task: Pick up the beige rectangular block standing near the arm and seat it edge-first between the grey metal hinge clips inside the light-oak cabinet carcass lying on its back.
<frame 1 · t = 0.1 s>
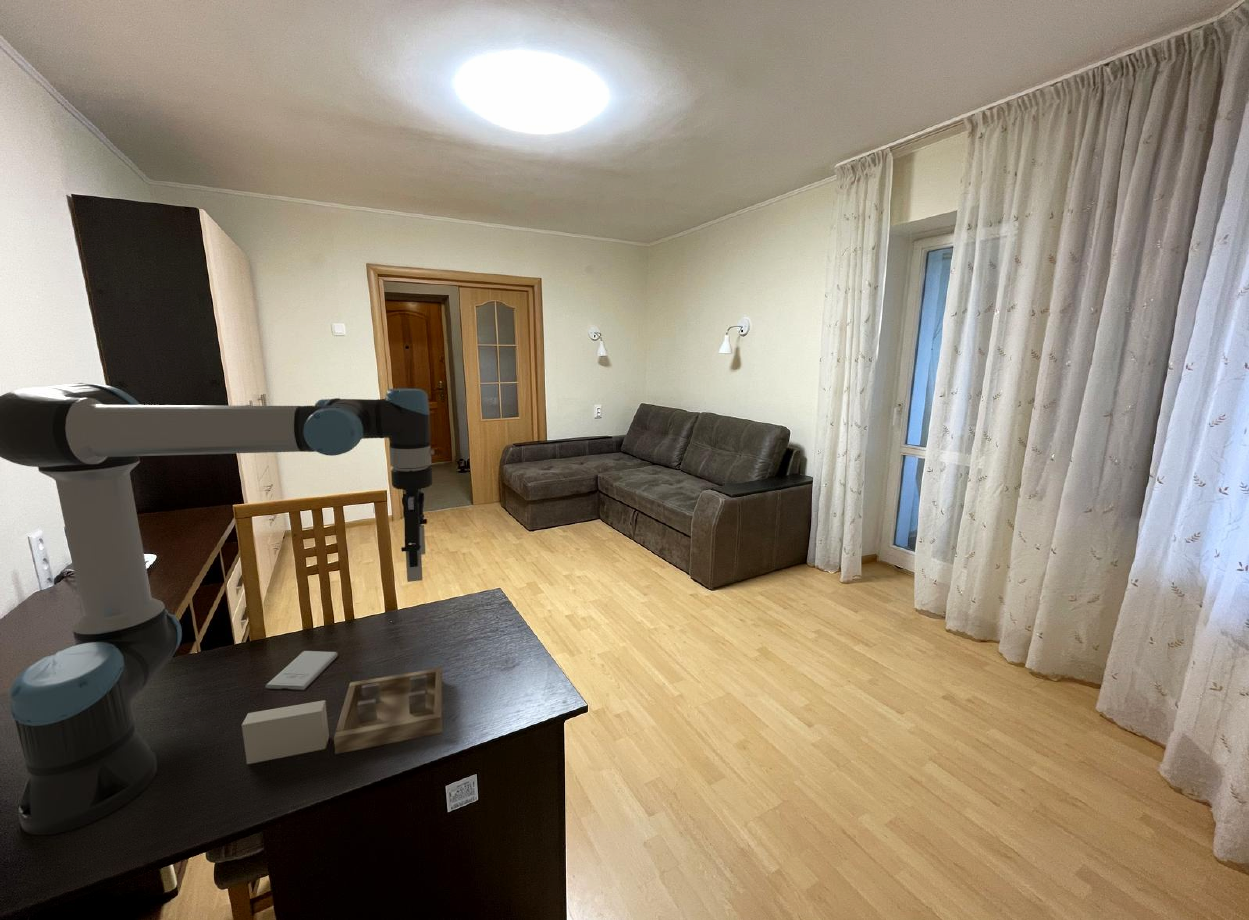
hand: (417, 566, 103), 28 cm above the table, fingers open, 13 cm apart
external hard drive: (304, 674, 112), on the table
beige rectangular block: (289, 750, 90), on the table
carcass: (394, 714, 100), on the table
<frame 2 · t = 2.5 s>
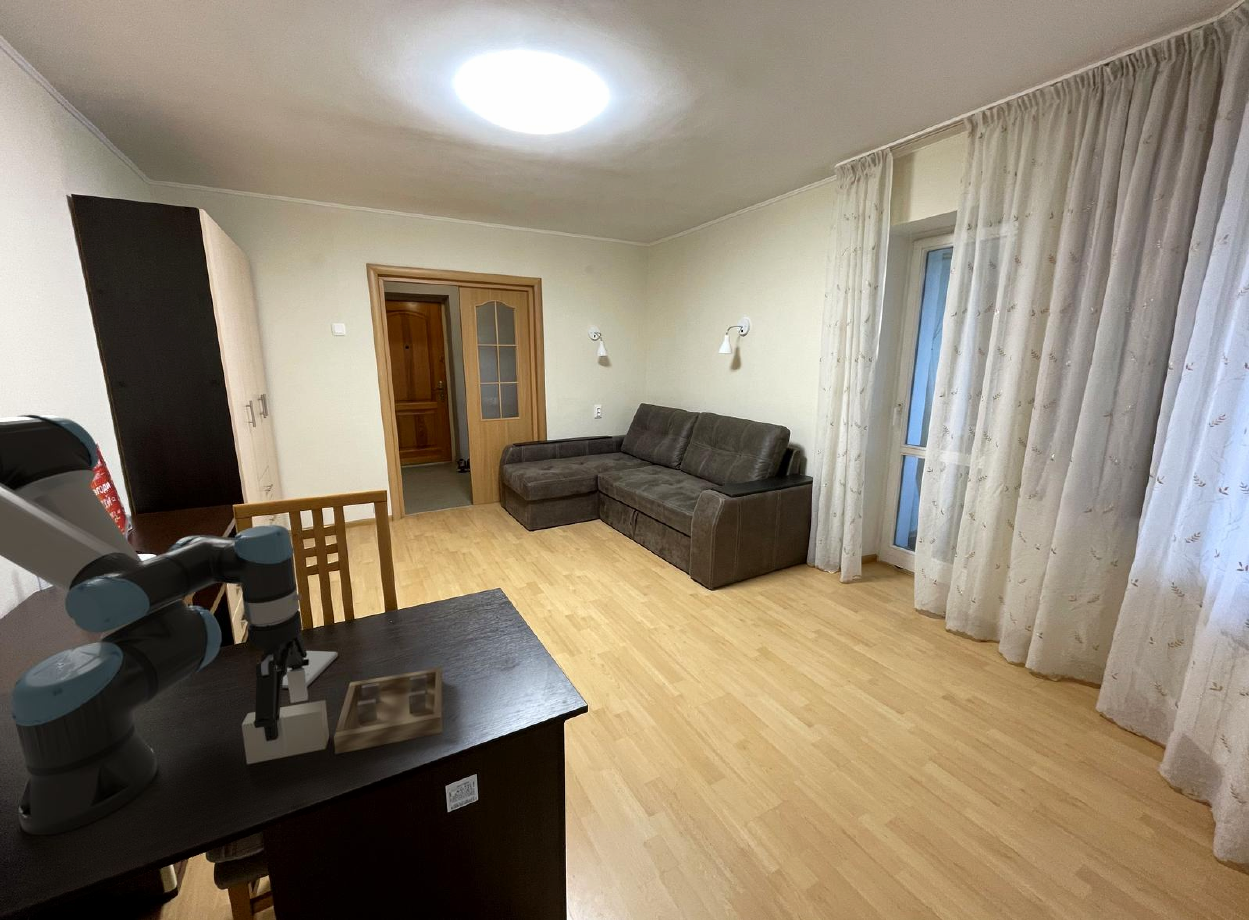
hand: (289, 724, 89), 5 cm above the table, fingers open, 13 cm apart
nothing on the table moved.
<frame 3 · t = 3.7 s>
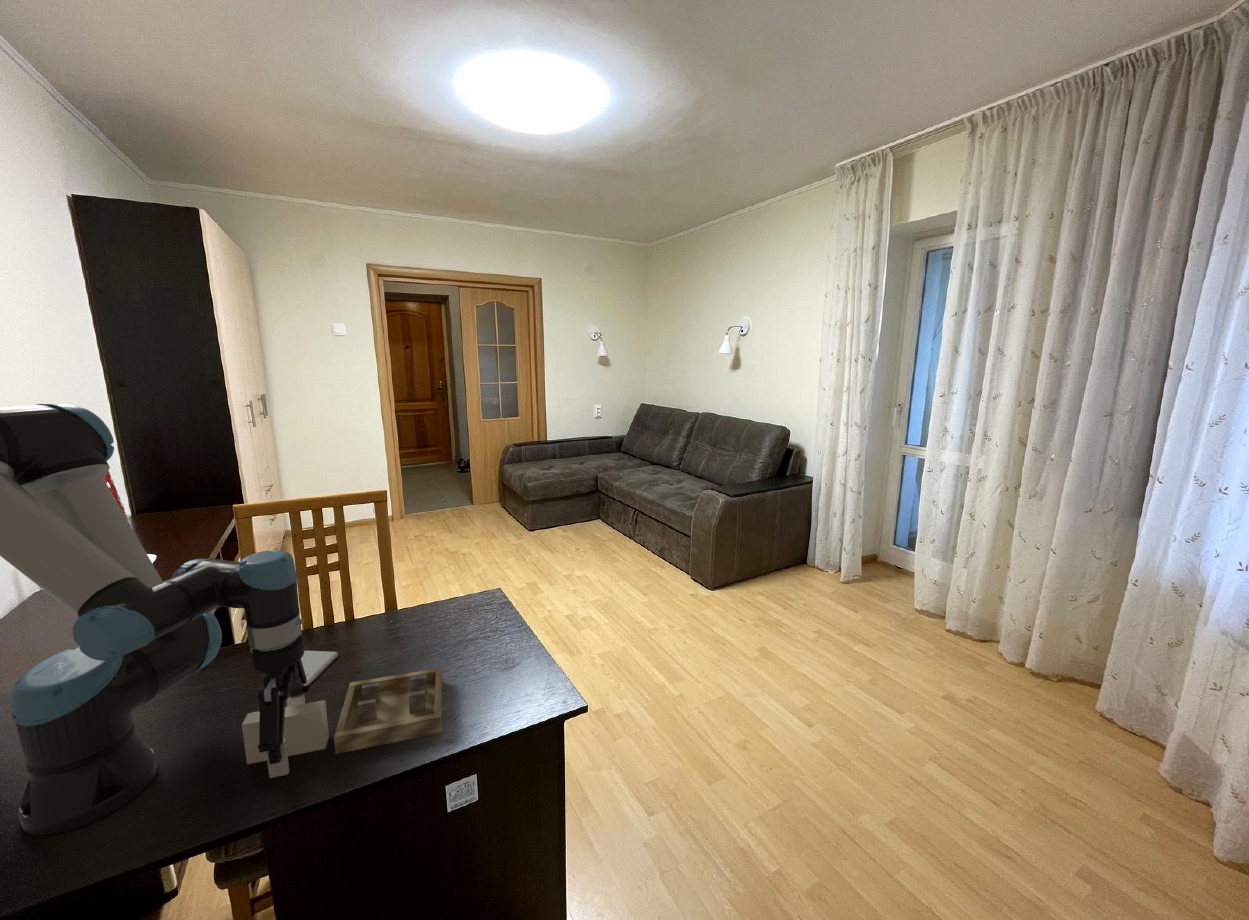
hand: (289, 749, 90), 0 cm above the table, fingers open, 11 cm apart
nothing on the table moved.
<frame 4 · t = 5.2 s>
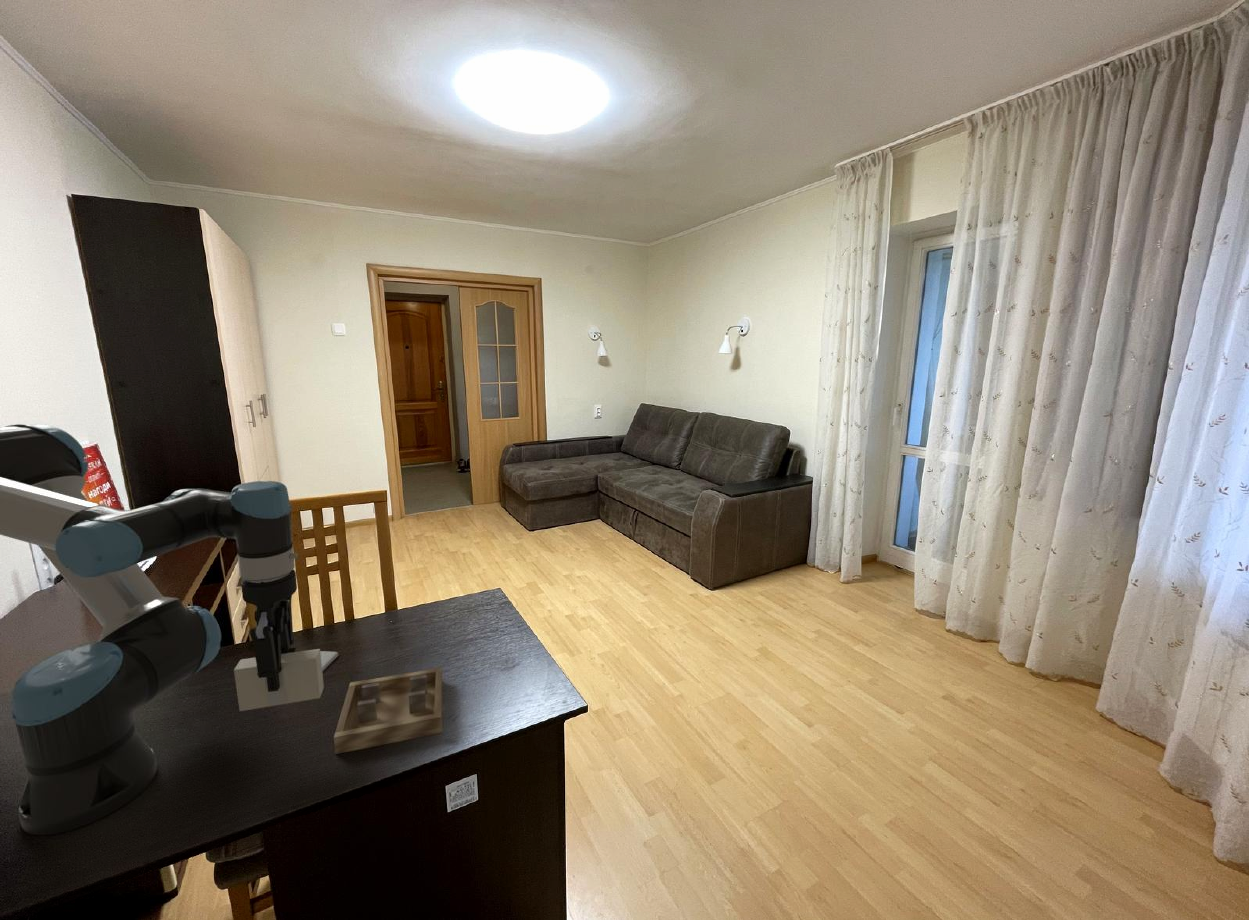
hand: (280, 696, 88), 11 cm above the table, fingers closed on beige rectangular block, 3 cm apart
beige rectangular block: (283, 698, 88), point 10 cm above the table, touching gripper
everything else where it was.
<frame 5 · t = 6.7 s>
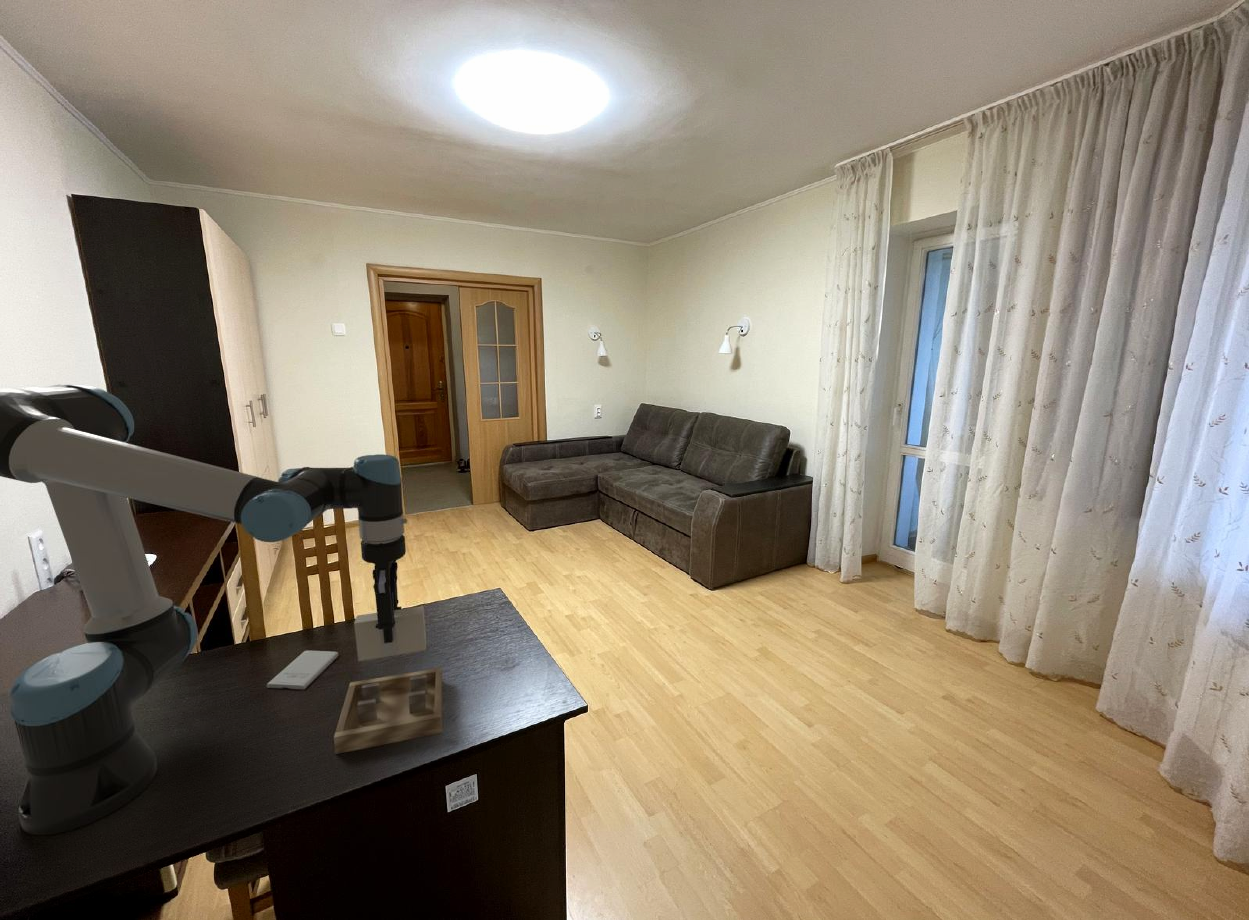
hand: (391, 649, 98), 14 cm above the table, fingers closed on beige rectangular block, 3 cm apart
beige rectangular block: (393, 651, 98), point 13 cm above the table, touching gripper
everything else where it was.
when the fingers open (3 cm above the table, at t = 8.8 s): beige rectangular block drops 1 cm, resting on carcass.
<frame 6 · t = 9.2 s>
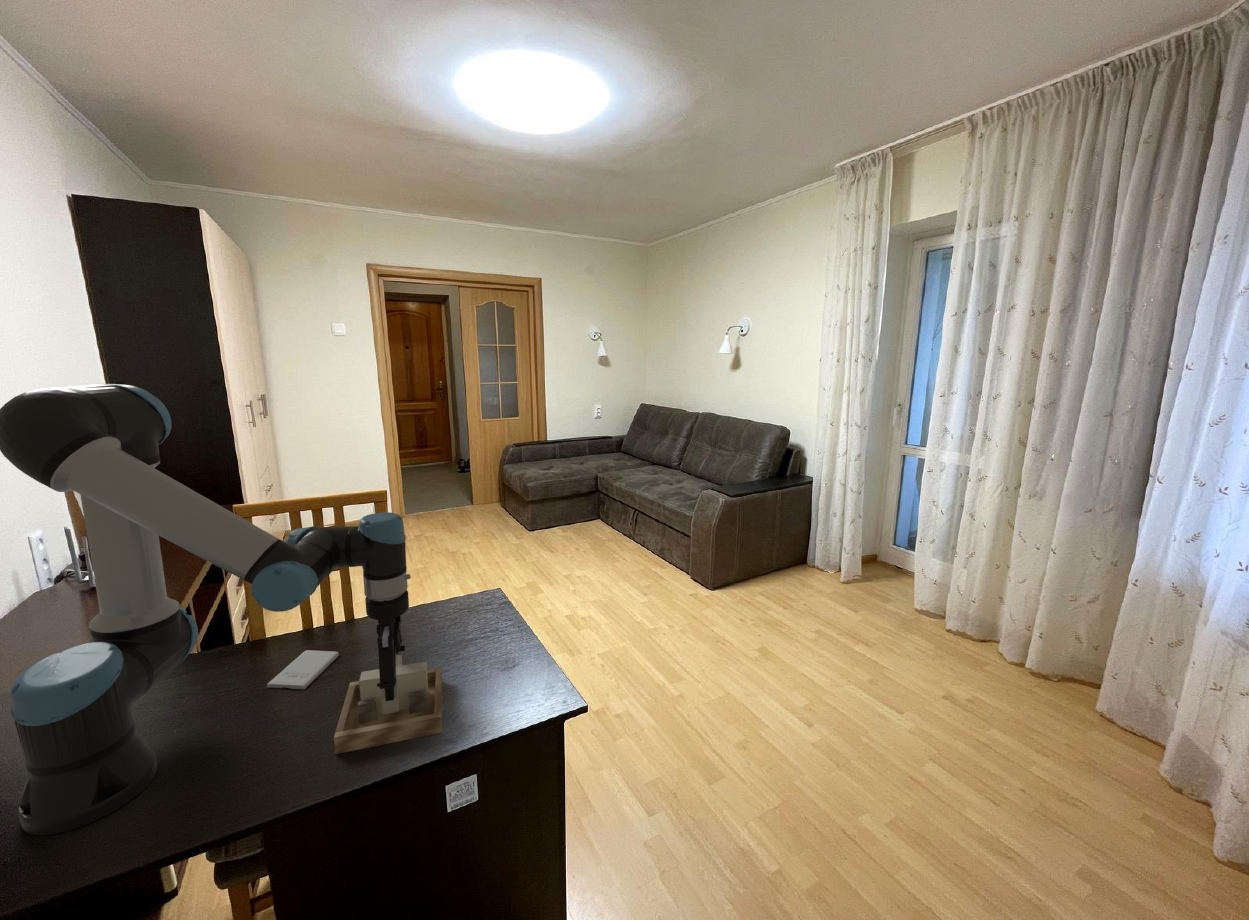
hand: (393, 696, 100), 3 cm above the table, fingers open, 8 cm apart
beige rectangular block: (396, 706, 101), point 1 cm above the table, touching carcass
everything else where it was.
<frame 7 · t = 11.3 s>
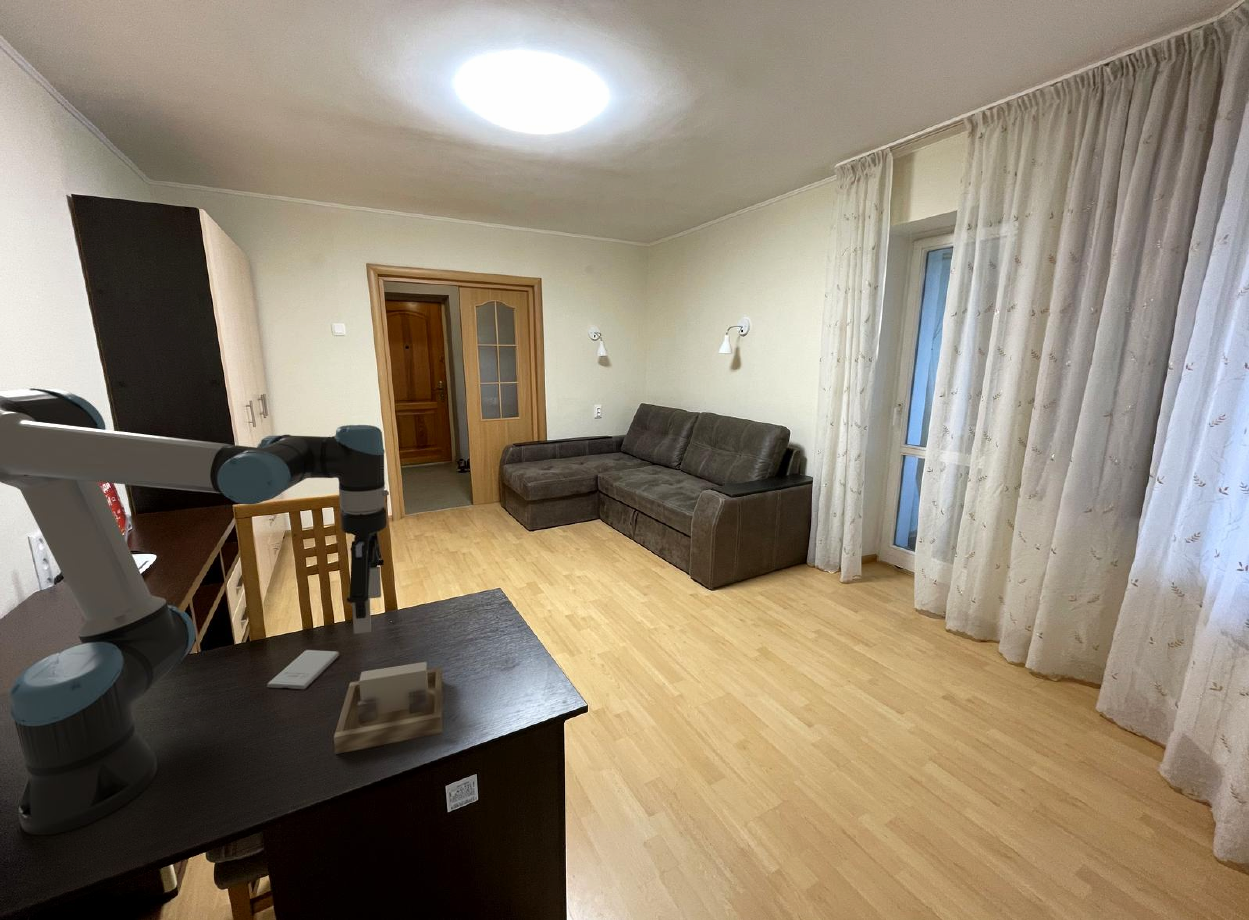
hand: (368, 613, 96), 21 cm above the table, fingers open, 13 cm apart
nothing on the table moved.
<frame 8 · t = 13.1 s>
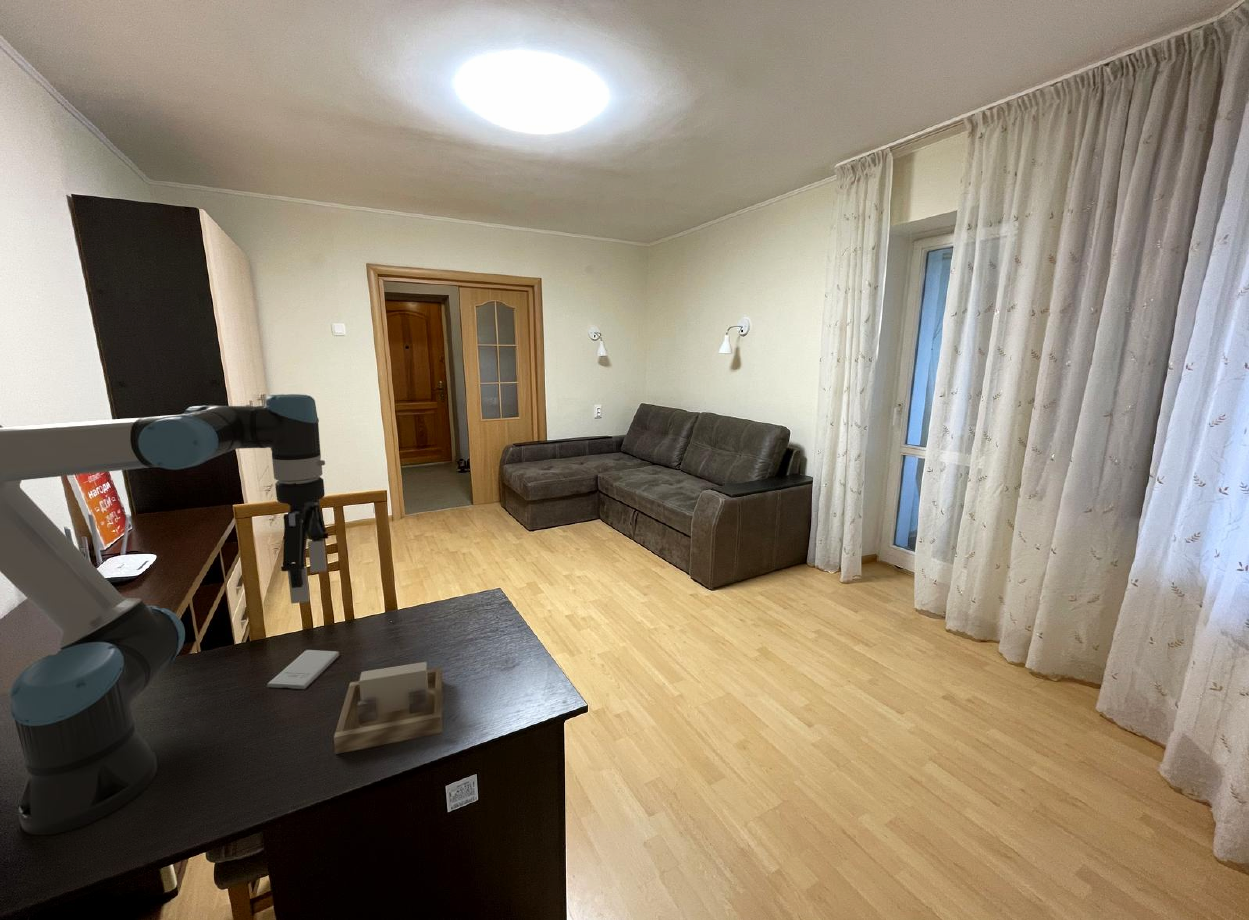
hand: (310, 585, 96), 27 cm above the table, fingers open, 13 cm apart
nothing on the table moved.
at the end: beige rectangular block 0.3 cm from the target spot on the carcass, point 1.0 cm above the carcass's base; beige rectangular block tilted 0°; the gripper is holding nothing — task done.
